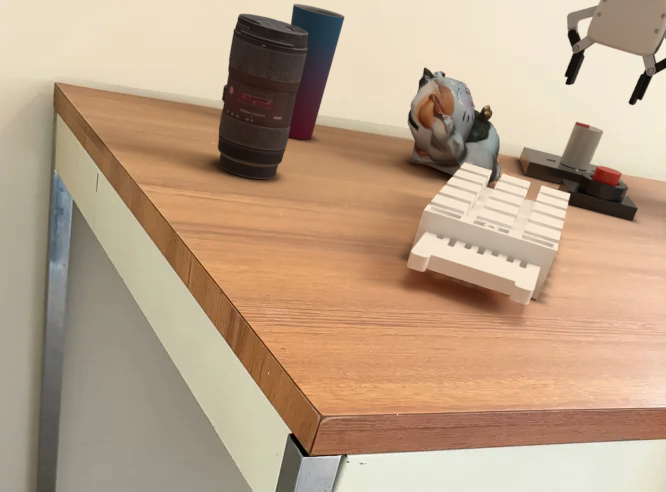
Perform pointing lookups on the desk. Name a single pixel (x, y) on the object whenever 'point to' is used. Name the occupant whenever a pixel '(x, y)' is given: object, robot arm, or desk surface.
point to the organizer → (491, 233)
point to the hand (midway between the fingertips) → (600, 94)
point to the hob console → (550, 167)
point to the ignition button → (607, 175)
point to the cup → (313, 65)
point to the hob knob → (581, 146)
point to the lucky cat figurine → (451, 127)
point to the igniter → (599, 196)
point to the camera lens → (260, 95)
